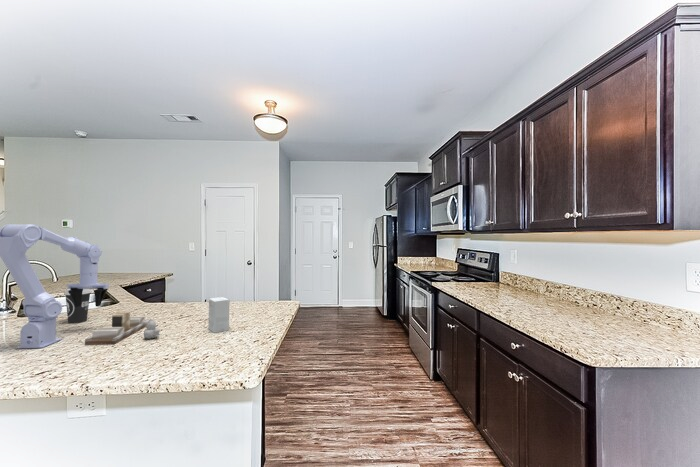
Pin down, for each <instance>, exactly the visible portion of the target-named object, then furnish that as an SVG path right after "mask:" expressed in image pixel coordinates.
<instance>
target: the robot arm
mask: <svg viewBox="0 0 700 467" xmlns="http://www.w3.org/2000/svg"><path fill="white" fill-rule="evenodd" d="M39 240H40V241H44V242H47V243H51V244H54V245H57V246H60V248H61V250H62V251H63V252H67V253H70V254H72V255H76V257H77V258H79V283H69V284H67V289H71V290H69V291H68V293H69V294H70V295H71V296H72V298H73V300H74V303H75V307H78V306H81V296H82V292H83V289H90V290H92V289H93V294H94V297H95V302H94V303H95V307H97V308H98V307H101V305H102V301H103V299H104V297H105V295H106V293H107V291H108V289H110V288H109V287H110V284H109V283H102V282H100V283H99V282H98V268H99V267H98V264H99V261H100V257H101V256H102V252H103V250H102V251H101V248H100V247H99V246H98V245H97V244H90V243H89V242H88V241H83V240H81V239H79V237H77V236H68V237H64V236H62V235H60V234H57V233H55V232H53V231H51V230H49V229H46V228H44V227H43V226H38V225H36V224H33V223H30V224H29V223H28V224H14V223H8V224H5V225H3V226H2V227H1V228H0V258H1V261H2V262H3V263H4V265H5V266H6V269H7V270H8V272H9V273H10V275H11V277H12V278H13V281H15V284H16V285H17V287H18V289H19V290H20V292H21V294H22V295H23V297H24V299H23V301H21V304H22V306H23V313H24V315H25V316H26V317H27V323H26V324H23V326H22V327H21V329H20V334H19V335H20V337H19V338H20V342H19V346H17V349H41V348H45V347H47V346H49V345H52V344H54V343H56V342H57V343H58V342H59V341H61V340H63V338H62V337H57V319H58V316H59V315H60V314H61V313H62V310H63V305H62V303H61V302H60V301H58V300H56V298H55V297H54V296H53V295H51V294H50V293H48V292H47V291H46V290H45V288H44V286H43V284H42V282H41V281H40V279H39V278H38V276H37V273H36V272H35V269H34V268H33V267H32V265H31V263H30V261H29V259H28V258H27V256H26V253H27V251H28V250H29V249H30V248H32V246H34V245H35V244H36V243H37V242H38V241H39Z"/></svg>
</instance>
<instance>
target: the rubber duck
mask: <svg viewBox="0 0 700 467" xmlns="http://www.w3.org/2000/svg"><path fill="white" fill-rule="evenodd" d="M149 320H150V321H148V323H147V325H146V327H145V328H146V329H144V330H143V337H144V338H145V339H146V340H147V339H151V340H152V339H154V338H156V337H159V336H160V332H161V329H160V328H157V322H156V321H155V320H154V319H152V318H151V317H150V318H149Z"/></svg>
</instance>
